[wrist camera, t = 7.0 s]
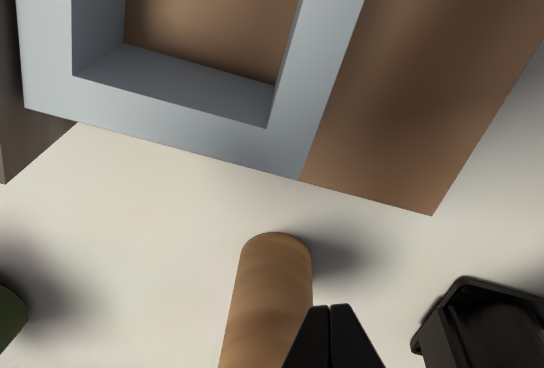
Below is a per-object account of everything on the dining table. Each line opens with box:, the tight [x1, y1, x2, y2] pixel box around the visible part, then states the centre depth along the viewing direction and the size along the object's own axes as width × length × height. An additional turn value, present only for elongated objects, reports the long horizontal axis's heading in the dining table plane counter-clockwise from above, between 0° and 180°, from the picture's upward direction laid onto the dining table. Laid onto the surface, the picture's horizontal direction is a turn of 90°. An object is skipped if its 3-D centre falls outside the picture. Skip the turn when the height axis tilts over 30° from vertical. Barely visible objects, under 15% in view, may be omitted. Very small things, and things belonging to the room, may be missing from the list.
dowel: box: [218, 232, 313, 368], centre depth 18 cm, size 4×4×10 cm
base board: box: [0, 0, 544, 216], centre depth 13 cm, size 18×14×6 cm
